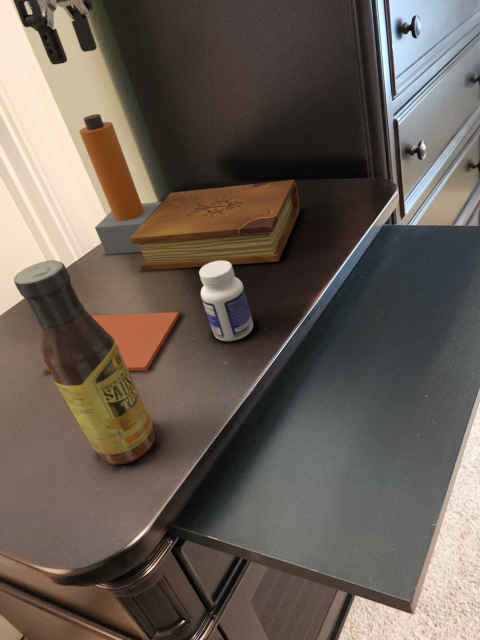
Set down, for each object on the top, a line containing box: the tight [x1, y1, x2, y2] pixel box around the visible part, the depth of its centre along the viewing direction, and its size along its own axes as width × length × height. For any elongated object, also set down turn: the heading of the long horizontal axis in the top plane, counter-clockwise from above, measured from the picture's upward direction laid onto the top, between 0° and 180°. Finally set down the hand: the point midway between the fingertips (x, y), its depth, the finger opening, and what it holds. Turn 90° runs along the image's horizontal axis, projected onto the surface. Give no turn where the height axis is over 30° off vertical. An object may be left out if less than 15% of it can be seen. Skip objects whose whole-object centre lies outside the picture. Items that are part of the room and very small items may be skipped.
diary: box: [130, 179, 301, 272], centre depth 87 cm, size 23×19×6 cm
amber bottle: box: [78, 113, 144, 221], centre depth 86 cm, size 5×5×16 cm
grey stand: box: [94, 201, 163, 255], centre depth 92 cm, size 9×9×5 cm
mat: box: [45, 311, 180, 373], centre depth 69 cm, size 14×12×1 cm
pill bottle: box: [198, 261, 254, 342], centre depth 64 cm, size 5×5×9 cm
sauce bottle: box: [13, 259, 156, 466], centre depth 48 cm, size 7×6×20 cm
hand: (75, 56), depth 73 cm, fingers open, 8 cm apart
